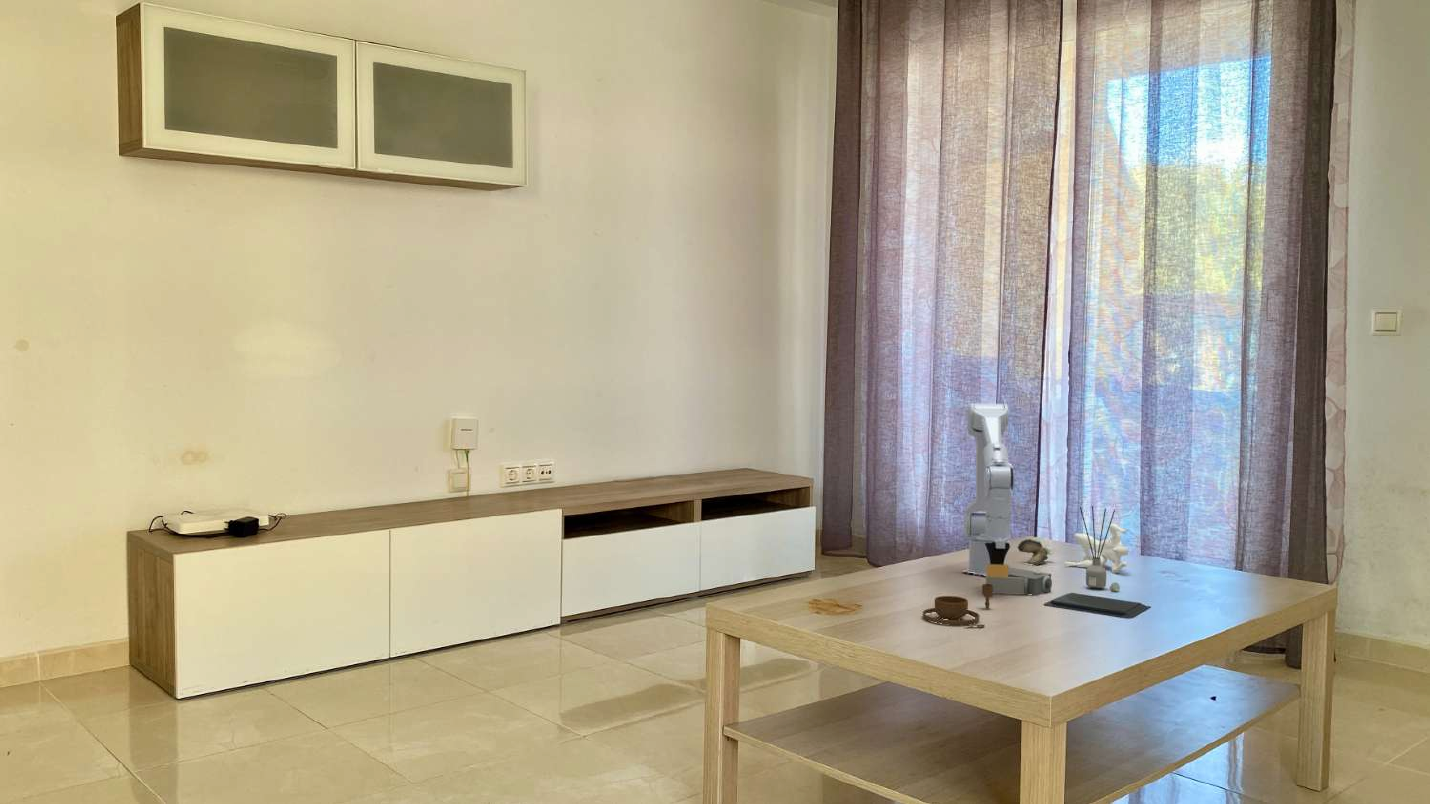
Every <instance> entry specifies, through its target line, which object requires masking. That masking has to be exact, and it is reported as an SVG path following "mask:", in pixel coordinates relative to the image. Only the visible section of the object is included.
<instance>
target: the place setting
mask: <svg viewBox="0 0 1430 804" xmlns="http://www.w3.org/2000/svg"><path fill="white" fill-rule="evenodd" d="M981 594H982V596H983V597H984V598H985V602H984V605H985V607H984V608H986V609H985V610H990V609H989V608H990V605H991V603H990V598H992V597H993V594H994V593H993V585H992V584H986V583H983V584H981ZM968 607H969V601H968V599H967V598H965V597H961V596H955V595H941V596H936V597H935V598H934V607H931V608H927V609H924V610H923V611H922V617H923V619H924V618H925V619H927V620H930V621H933V622H937V623H942V624H949V625H967V626H966V627H967V628H966V629H973V628H979V629H984V628H985V626H986V625H985V624H977V623H978V622H980V614H979V613H978V612H976V611H974V610H969V609H968ZM932 612H936V613H937V614H936V615H938V616H939V617H940V618H937V617H932V616H931V615H930V616H927V615H925V614H926V613H932ZM966 614H969V615H971V616H973V617H975V619H973V618H971V619H965V620H961V619H962V618H964V617H966V616H965V615H966ZM941 618H943V619H948V620H943V619H941ZM925 619H924V620H925ZM959 619H960V620H959ZM927 620H926V621H927ZM974 623H975V624H974ZM969 624H973V625H969ZM973 626H977V627H973Z"/></svg>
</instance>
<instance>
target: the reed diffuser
mask: <svg viewBox="0 0 1430 804" xmlns="http://www.w3.org/2000/svg"><path fill="white" fill-rule="evenodd" d="M1079 510H1080V514H1081V517H1082V521H1083V524H1084V528H1085V533H1086V535H1087V536H1088V540H1089V544H1090V548H1091V549H1090V552H1091V556H1092V558H1093V560H1091V561H1092V565H1091V566H1090V567H1088V568H1087V567H1086V570H1085V585H1086V586H1088V587H1092V588H1105V587H1106V585H1107V569H1106V568H1104V567H1103V565H1102V566H1101V558H1100V556H1101V553H1102V550H1103V546H1104V543H1105V540H1106V539H1107V537H1108V533H1109V532H1110V525H1111V524H1112V521H1113V518H1114V515H1115V513H1116V509H1113V512H1112V515H1111V518H1110V521H1109V524H1108V528H1107V530H1106V532H1105V533H1106V534H1105V537H1104V539H1103V540H1104V543H1103V546H1102V549H1101V552H1100V555H1099V550H1100V544H1101V541H1102V536H1103V530H1104V523H1105V517H1106V511H1107V508H1104V511H1103V512H1104V513H1103V516H1102V517H1103V519H1102V524H1101V532H1100V536H1099V541H1100V543H1099V549H1098V555H1097V557H1096V547H1095V539H1096V535H1095V532H1096V531H1095V516H1094V515H1095V514H1094V506H1093V505H1091V511H1092V512H1091V513H1092V515H1091V516H1092V528H1093V538H1094V549H1095V551H1094V550H1092V547H1091V543H1090V539H1089V536H1090V535H1089V532H1088V529H1087V525H1086V521H1085V517H1084V514H1083V513H1084V512H1083V509H1082V507H1081V506H1080V507H1079ZM1093 551H1094V552H1093ZM1098 556H1099V557H1098ZM1109 590H1110V591H1112V592H1119V591H1120V590H1121V585H1120V584H1119V583H1118V582H1113V583H1111V584H1110V586H1109Z"/></svg>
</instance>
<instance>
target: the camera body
mask: <svg viewBox="0 0 1430 804" xmlns="http://www.w3.org/2000/svg"><path fill="white" fill-rule="evenodd" d="M1008 577H1019V578H1028V594H1032V595H1031V596H1034V595H1035V596H1038V595H1041V594H1040V593H1042V594H1045V593H1048V592H1050V591H1051V590H1052V589H1051V588H1052V584H1053V581H1052V573H1046V572H1042V571H1040V570H1027V569H1022V568H1016V567H1015V568H1014V567H1009V572H1008ZM1028 594H1027V595H1028ZM1037 594H1038V595H1037Z"/></svg>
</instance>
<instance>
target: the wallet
mask: <svg viewBox="0 0 1430 804" xmlns="http://www.w3.org/2000/svg"><path fill="white" fill-rule="evenodd" d="M1043 606H1044V607H1050V608H1056V609H1064V610H1068V611H1069V610H1070V611H1076V612H1083V613H1089V614H1095V615H1101V616H1106V617H1107V616H1108V617H1114V618H1119V619H1127V620H1131V619H1134V618H1136V617H1138V616H1139V615H1141V614H1142V613H1144V612H1146V611H1147V610H1149V609H1151V608H1152V607H1151V606H1149V605H1145V604H1143V603H1142V602H1137V601H1130V600H1123V599H1118V598H1117V599H1116V598H1109V597H1104V596H1103V597H1102V596H1096V595H1090V594H1084V593H1083V594H1082V593H1076V592H1069V593H1065V594H1063V595H1061V596H1059V597H1056V598H1053V599H1051V600H1048V601H1046V602H1045V603H1043Z"/></svg>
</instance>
